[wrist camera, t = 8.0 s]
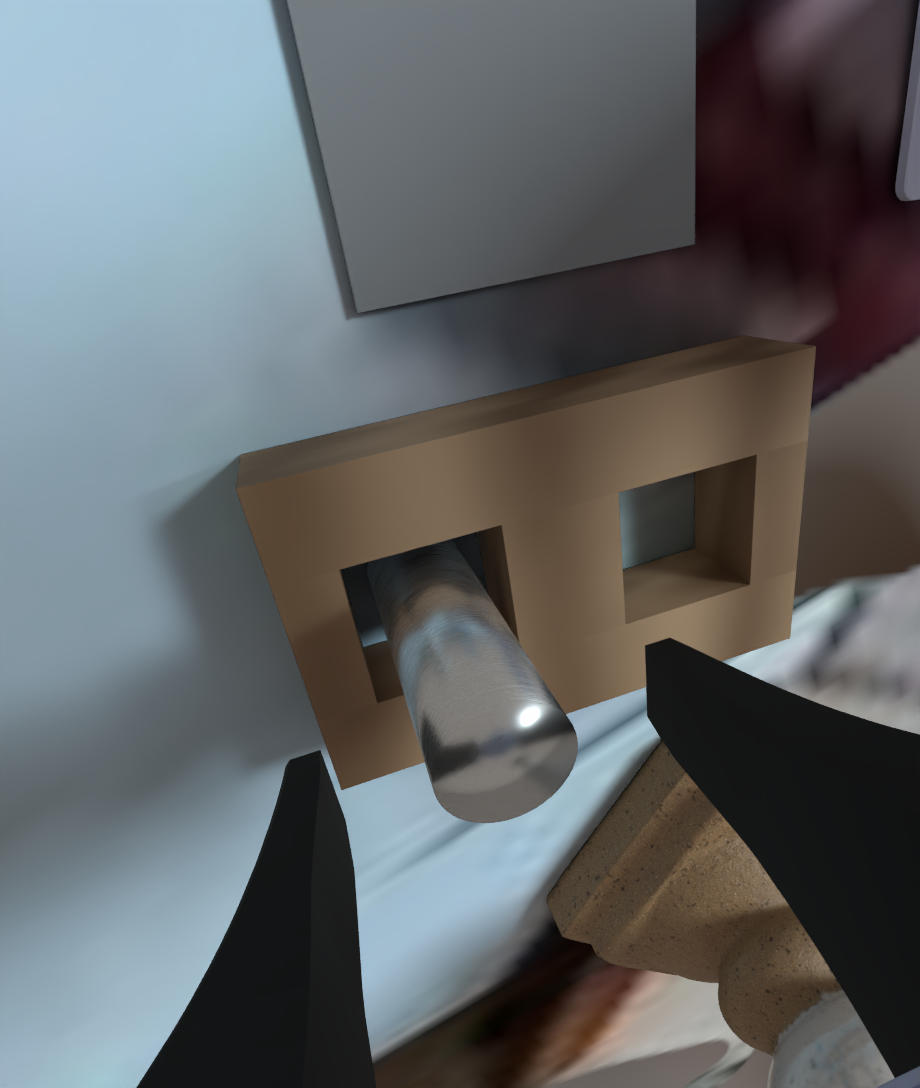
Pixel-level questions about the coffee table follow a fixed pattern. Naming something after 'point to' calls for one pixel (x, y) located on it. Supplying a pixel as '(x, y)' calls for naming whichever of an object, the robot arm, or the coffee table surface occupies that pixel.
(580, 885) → the candle holder
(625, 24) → the mat
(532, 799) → the peg
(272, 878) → the robot arm
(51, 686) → the coffee table surface
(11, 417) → the coffee table surface
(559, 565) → the block
